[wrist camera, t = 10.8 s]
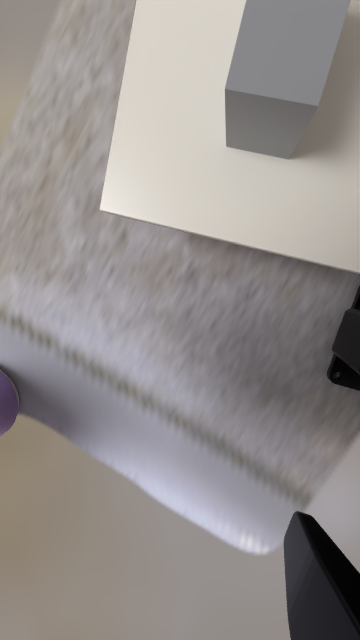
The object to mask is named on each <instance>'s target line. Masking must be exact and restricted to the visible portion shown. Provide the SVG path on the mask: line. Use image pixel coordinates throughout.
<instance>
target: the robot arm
mask: <svg viewBox="0 0 360 640" xmlns="http://www.w3.org/2000/svg"><path fill="white" fill-rule="evenodd" d="M332 350H333V352H334V355H333V358H332V361H331V363H330V366H329V369H328V371H327V377H328V378H329V379H330V381H331V382H332V383H334V384H338V385H341V386H345V387H348V388H352V389H355V390H359V391H360V286H359V289H358V291H357V294H356V297H355V299H354V302H353V305H352V307H351V308H350V309H348V310H346V312H345V314H344V317H343V319H342V322H341V325H340V328H339V330H338V333H337V336H336V338H335V341H334V344H333V346H332ZM337 372H340V376H339V377H337V378H334V377H333V375H334V374H335V373H337ZM284 558H285V579H286V597H287V612H288V622H289V630H290V637H291V640H360V573H359V572H358V571H357V570H356V568H355V567H354V566H353V565H352V564H351V562H350V561H349V560H348V559H347V558H346V556H345V555H344V554H343V553H342V551H341V550H340V549H339V548H338V547H337V545H336V544H335V543H334V542H333V541H332V539H331V538H330V537H329V536H328V535H327V533H326V532H325V531H324V530H323V529H322V527H321V526H320V525H319V524H318V522H317V521H316V520H315V519H314V518H313V517H312V516H311V515H308V514H305V513H302V512H299V511H296V512H295V513H294V514H293V516H292V519H291V521H290V524H289V526H288V529H287V531H286V534H285V537H284Z"/></svg>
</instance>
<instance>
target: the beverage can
mask: <svg viewBox="0 0 360 640" xmlns="http://www.w3.org/2000/svg"><path fill="white" fill-rule="evenodd" d="M18 409H19V396H18V392H17V389H16V387H15V385H14V383H13V382H12V380H11V379H10V378H9V377H8V376H7V375H6V374H5V373H4V372H3V371H2V370H0V436H1V435H2V434H4V433H5V432H6V431H8V430H9V429H10V428H11V426H12V425H13V423H14V422H15V419H16V416H17V413H18Z"/></svg>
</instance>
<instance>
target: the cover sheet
mask: <svg viewBox="0 0 360 640" xmlns="http://www.w3.org/2000/svg"><path fill="white" fill-rule="evenodd" d="M100 210H101V211H104V212H106V213H108V214H112V215H116V216H120V217H124V218H129V219H133V220H137V221H141V222H145V223H149V224H153V225H157V226H162V227H166V228H170V229H174V230H178V231H182V232H186V233H190V234H195V235H199V236H203V237H207V238H211V239H215V240H219V241H223V242H228V243H232V244H236V245H240V246H244V247H248V248H252V249H256V250H261V251H265V252H269V253H273V254H277V255H281V256H285V257H289V258H293V259H298V260H302V261H306V262H310V263H314V264H318V265H322V266H326V267H331V268H335V269H339V270H343V271H347V272H351V273H355V274H359V275H360V0H137V2H136V8H135V13H134V19H133V24H132V30H131V36H130V41H129V47H128V53H127V58H126V64H125V70H124V75H123V81H122V87H121V92H120V98H119V104H118V109H117V115H116V121H115V126H114V132H113V138H112V143H111V149H110V154H109V160H108V166H107V171H106V177H105V183H104V188H103V194H102V200H101V205H100Z"/></svg>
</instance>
